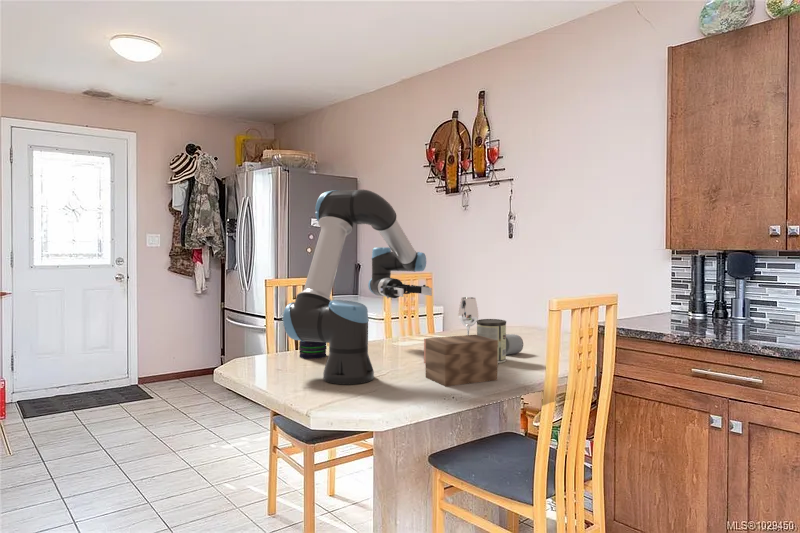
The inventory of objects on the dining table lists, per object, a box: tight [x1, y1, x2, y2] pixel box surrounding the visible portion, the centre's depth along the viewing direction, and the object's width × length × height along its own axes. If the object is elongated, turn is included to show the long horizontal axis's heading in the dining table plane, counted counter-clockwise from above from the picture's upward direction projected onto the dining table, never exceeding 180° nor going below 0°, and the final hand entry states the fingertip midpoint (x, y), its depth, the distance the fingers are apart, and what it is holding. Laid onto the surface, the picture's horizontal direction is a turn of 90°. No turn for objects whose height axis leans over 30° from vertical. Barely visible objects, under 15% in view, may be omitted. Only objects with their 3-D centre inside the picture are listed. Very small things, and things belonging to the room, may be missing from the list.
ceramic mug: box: [506, 333, 524, 356], centre depth 209 cm, size 11×8×8 cm
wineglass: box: [457, 296, 479, 335], centre depth 218 cm, size 8×8×20 cm
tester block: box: [425, 334, 498, 387], centre depth 168 cm, size 18×12×12 cm, turn 115°
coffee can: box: [476, 318, 507, 364], centre depth 195 cm, size 10×10×14 cm
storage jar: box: [298, 340, 327, 360], centre depth 201 cm, size 10×10×15 cm
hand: (416, 292), depth 194 cm, fingers open, 10 cm apart
